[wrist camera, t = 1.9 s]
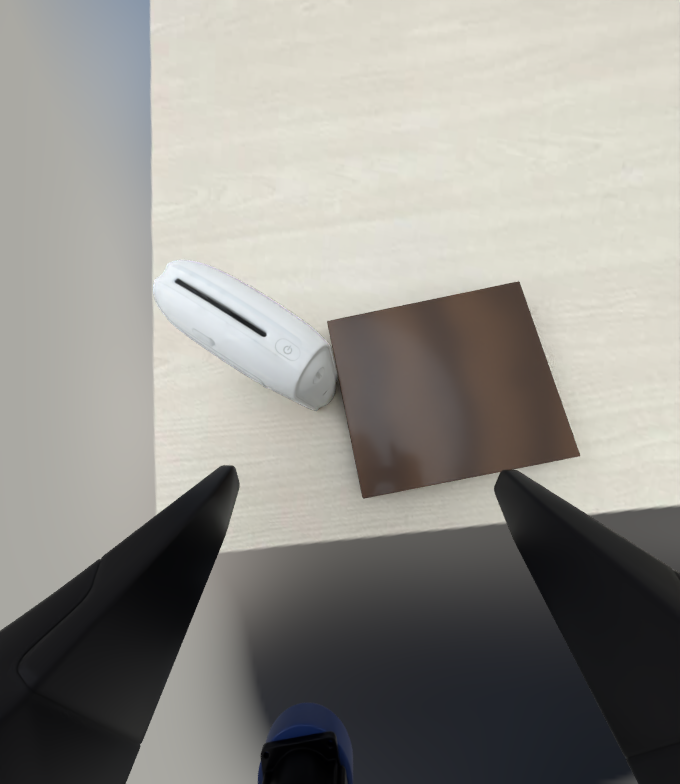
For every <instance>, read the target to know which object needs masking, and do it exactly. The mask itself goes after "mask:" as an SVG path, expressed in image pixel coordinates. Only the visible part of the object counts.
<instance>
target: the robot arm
mask: <svg viewBox="0 0 680 784" xmlns="http://www.w3.org/2000/svg"><path fill="white" fill-rule="evenodd" d="M238 491H239V479H238V475H237V472H236V468H235V467H234V466H227V465H223V466H220V467H219V468H218V469H216V470H215V471H214V472H212V473H211V474H210V475H208V476H207V477H206V478H204V479H203V480H202V481H201V482H199V483H198V484H197V485H195V486H194V487H193V488H191V489H190V490H189V491H187V492H186V493H185V494H184V495H182V496H181V497H180V498H178V499H177V500H176V501H174V502H173V503H172V504H170V505H169V506H168V507H167V508H165V509H164V510H163V511H161V512H160V513H159V514H157V515H156V516H155V517H153V518H152V519H151V520H150V521H148V522H147V523H146V524H144V525H143V526H142V527H140V528H139V529H138V530H136V531H135V532H134V533H132V534H131V535H130V536H129V537H127V538H126V539H125V540H123V541H122V542H121V543H119V544H118V545H117V546H115V548H113V549H112V550H110V551H109V552H108V553H107V554H105V555H104V556H103V557H102V558H101V559H99V560H97V561H96V562H95V563H93V564H92V565H91V566H89V567H88V568H87V569H85V570H84V571H83V572H81V573H80V574H79V575H77V576H76V577H75V578H73V579H72V580H71V581H69V582H68V583H67V584H65V585H64V586H63V587H61V588H60V589H58V590H57V591H56V592H54V593H53V594H52V595H50V596H49V597H48V598H46V599H45V600H43V601H42V602H40V603H39V604H38V605H36V606H35V607H34V608H32V609H31V610H29V611H28V612H26V613H25V614H24V615H22V616H21V617H19V618H18V619H16V620H15V621H14V622H12V623H11V624H9V625H8V626H6V627H5V628H4V629H2V630H1V631H0V784H126V781H127V779H128V776H129V774H130V771H131V769H132V766H133V764H134V761H135V759H136V756H137V754H138V751H139V749H140V744H141V743H142V741H143V739H144V736H145V733H146V731H147V729H148V726H149V724H150V721H151V719H152V716H153V714H154V711H155V709H156V706H157V704H158V701H159V699H160V696H161V694H162V691H163V689H164V687H165V684H166V682H167V679H168V677H169V674H170V672H171V669H172V666H173V664H174V662H175V659H176V657H177V654H178V652H179V649H180V647H181V644H182V642H183V639H184V637H185V635H186V632H187V629H188V627H189V625H190V622H191V619H192V617H193V615H194V612H195V610H196V607H197V605H198V602H199V600H200V597H201V595H202V592H203V590H204V587H205V585H206V582H207V580H208V578H209V575H210V573H211V570H212V568H213V565H214V562H215V560H216V558H217V555H218V553H219V550H220V548H221V545H222V543H223V540H224V538H225V535H226V532H227V529H228V525H229V522H230V518H231V515H232V512H233V508H234V505H235V501H236V498H237V494H238ZM494 491H495V495H496V497H497V500H498V502H499V505H500V507H501V510H502V512H503V515H504V517H505V520H506V522H507V525H508V527H509V530H510V532H511V534H512V537H513V539H514V541H515V543H516V545H517V548H518V549H519V552H520V553H521V555H522V557H523V559H524V561H525V563H526V565H527V567H528V569H529V571H530V573H531V575H532V577H533V579H534V581H535V583H536V585H537V587H538V589H539V590H540V592H541V594H542V596H543V598H544V600H545V602H546V604H547V606H548V608H549V610H550V612H551V614H552V616H553V618H554V620H555V622H556V624H557V625H558V628H559V629H560V631H561V633H562V635H563V637H564V639H565V641H566V643H567V645H568V647H569V649H570V651H571V653H572V655H573V657H574V659H575V661H576V663H577V665H578V666H579V668H580V670H581V672H582V674H583V676H584V678H585V680H586V682H587V684H588V686H589V688H590V690H591V692H592V694H593V696H594V698H595V700H596V702H597V703H598V705H599V707H600V709H601V711H602V713H603V715H604V717H605V719H606V721H607V723H608V725H609V727H610V729H611V731H612V732H613V735H614V736H615V739H616V741H617V743H618V744H619V746H620V748H621V750H622V752H623V754H624V756H625V757H626V760H627V763H628V765H629V766H630V768H631V770H632V772H633V774H634V776H635V778H636V780H637V782H638V784H680V573H679V572H678V571H675V570H672V568H671V567H670V566H668V565H666V564H665V563H663V562H662V561H660V560H659V559H657V558H655V557H654V556H652V555H651V554H649V553H647V552H646V551H644V550H643V549H641V548H639V547H638V546H636V545H635V544H633V543H632V542H630V541H628V540H627V539H625V538H624V537H622V536H620V535H619V534H617V533H615V532H614V531H613V530H611V529H609V528H608V527H606V526H605V525H603V524H601V523H599V522H598V521H597V520H595V519H594V518H592V517H590V516H589V515H587V514H586V513H584V512H582V511H581V510H579V509H578V508H576V507H574V506H573V505H571V504H570V503H568V502H567V501H565V500H563V499H562V498H560V497H559V496H557V495H555V494H554V493H552V492H551V491H549V490H548V489H546V488H544V487H543V486H541V485H540V484H538V483H536V482H535V481H533V480H532V479H530V478H528V477H527V476H525V475H524V474H522V473H521V472H519V471H517V470H502V471H501V472H500V475H499V477H498V479H497V481H496V484H495V486H494ZM330 740H331V741H332V742H330ZM266 752H268V753H266ZM261 765H262V774H263V782H262V784H348V781H347V775H346V769H345V767H344V766H343V765H341V762H340V756H339V749H338V743H337V737H336V734H335V733H334V732H332V731H327V732H322V733H316V734H311V735H305V736H300V737H294V738H288V739H283V740H277V741H272V742H267V743H265V744H264V745H263V747H262V751H261Z"/></svg>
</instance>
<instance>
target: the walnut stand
mask: <svg viewBox="0 0 680 784" xmlns="http://www.w3.org/2000/svg"><path fill="white" fill-rule="evenodd" d="M327 323H328V328H329V333H330V338H331V343H332V348H333V353H334V358H335V363H336V368H337V373H338V378H339V383H340V388H341V393H342V398H343V403H344V408H345V413H346V418H347V423H348V428H349V433H350V438H351V443H352V448H353V453H354V457H355V462H356V467H357V472H358V477H359V482H360V487H361V492H362V497H363V498H368V497H373V496H379V495H384V494H389V493H394V492H399V491H404V490H409V489H414V488H420V487H425V486H430V485H435V484H440V483H445V482H450V481H455V480H461V479H466V478H471V477H476V476H481V475H486V474H491V473H496V472H501V471H502V470H512V469H517V468H522V467H527V466H532V465H537V464H542V463H548V462H553V461H558V460H563V459H568V458H573V457H578V456H580V453H579V451H578V448H577V445H576V442H575V439H574V436H573V433H572V431H571V428H570V425H569V422H568V419H567V416H566V413H565V411H564V408H563V405H562V402H561V399H560V396H559V394H558V391H557V388H556V385H555V382H554V379H553V376H552V374H551V371H550V368H549V365H548V362H547V359H546V356H545V354H544V351H543V348H542V345H541V342H540V339H539V336H538V334H537V331H536V328H535V325H534V322H533V319H532V317H531V314H530V311H529V308H528V305H527V302H526V299H525V297H524V294H523V291H522V288H521V285H520V282H514V283H509V284H504V285H499V286H495V287H490V288H485V289H480V290H475V291H471V292H466V293H461V294H456V295H451V296H446V297H442V298H437V299H432V300H427V301H422V302H418V303H413V304H408V305H403V306H398V307H393V308H389V309H384V310H379V311H374V312H369V313H365V314H360V315H355V316H350V317H345V318H340V319H336V320H331V321H327Z"/></svg>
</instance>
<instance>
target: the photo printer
mask: <svg viewBox="0 0 680 784" xmlns="http://www.w3.org/2000/svg"><path fill="white" fill-rule="evenodd" d="M153 293H154V298H155V301H156V303H157V305H158V307H159V308H160V310H161V311H162V313H163V314H164V315H165V316H166V317H167V319H168V320H169V321H170V322H171V323H172V324H173V325H174V326H175V327H176V328H177V329H179V330H180V331H181V332H183V333H184V334H185V335H186V336H188V337H189V338H191V339H192V340H193V341H195V342H196V343H198V344H199V345H200V346H202V347H203V348H205V349H206V350H208V351H209V352H210V353H212V354H213V355H215V356H217V357H218V358H219V359H221V360H222V361H224V362H226V363H227V364H229V365H230V366H232V367H233V368H235V369H236V370H238V371H240V372H241V373H243V374H244V375H246V376H248V377H249V378H251V379H253V380H254V381H256V382H258V383H260V384H261V385H263V386H264V387H265V388H269V389H271V390H273V391H275V392H277V393H279V394H281V395H283V396H285V397H287V398H289V399H291V400H293V401H295V402H297V403H298V404H300V405H302V406H304V407H306V408H309V409H311V410H314V411H317V410H318V409H319V407H323V406H325V405H326V404H328V403H329V402H330V401H331V400H332V398H333V397H334V394H335V391H336V381H337V380H338V377H337V372H336V367H335V363H334V358H333V354H332V350H331V346H330V344H329V343H328V342H327V341H326V340H325V339H324V338H323V337H322V336H321V335H320V334H319V333H318V332H317V331H316V330H315V329H314V328H313V327H312V326H310V325H309V324H307V323H306V322H305V321H304V320H302V319H301V318H299V317H298V316H297V315H295V314H294V313H292V312H291V311H289V310H288V309H286V308H285V307H284V306H282V305H281V304H279V303H277V302H276V301H274V300H273V299H271V298H270V297H268V296H266V295H265V294H263V293H262V292H260V291H258V290H257V289H255V288H253V287H252V286H250V285H248V284H246V283H244V282H243V281H241V280H239V279H237V278H235V277H234V276H232V275H230V274H228V273H226V272H224V271H222V270H219V269H217V268H215V267H213V266H210V265H207V264H204V263H201V262H196V261H191V260H176V261H172V262H170V263H168V264H167V266H166V269H165V271H164V272H163V274H162V275H160V276H159V277H157V278H156V279H155V280H154V284H153Z"/></svg>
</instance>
